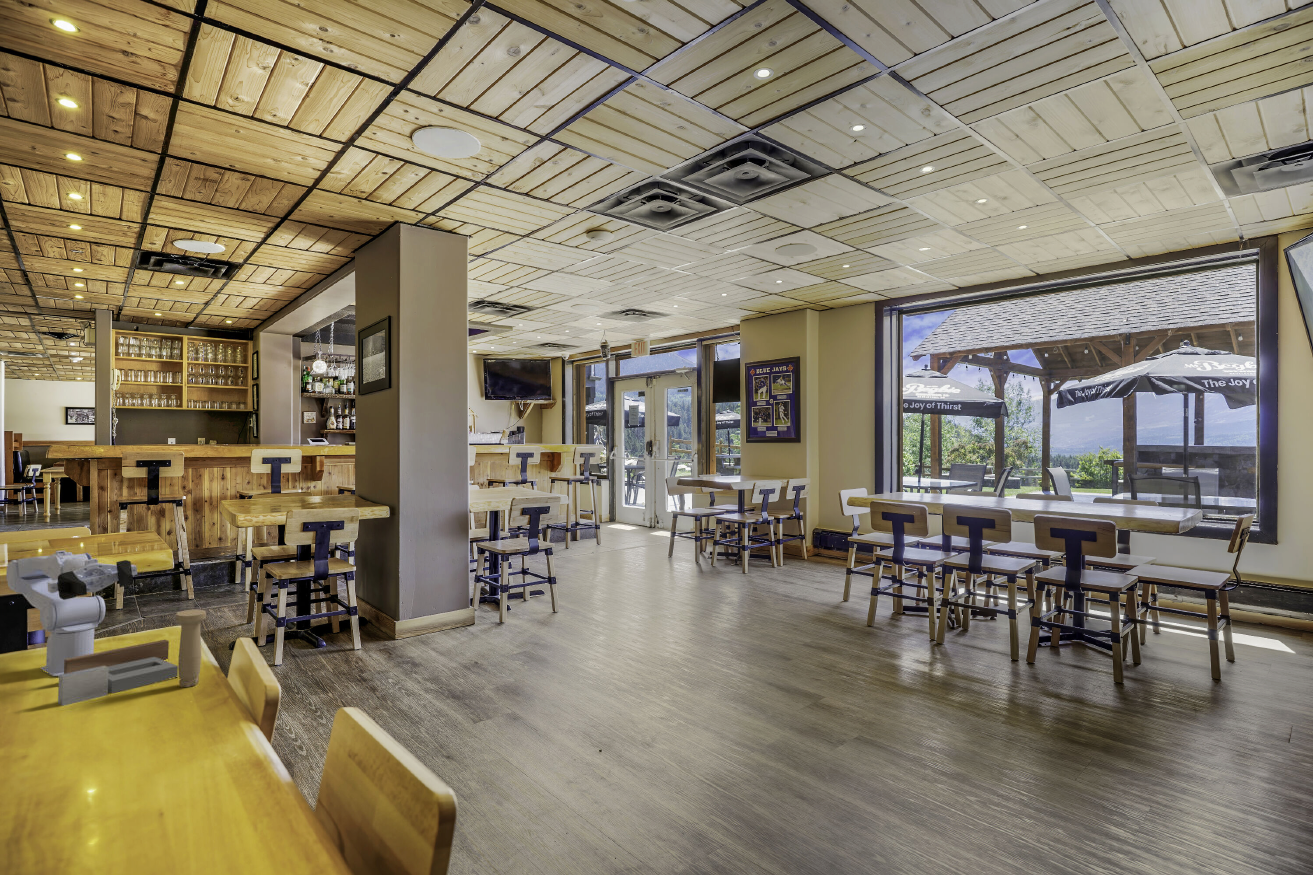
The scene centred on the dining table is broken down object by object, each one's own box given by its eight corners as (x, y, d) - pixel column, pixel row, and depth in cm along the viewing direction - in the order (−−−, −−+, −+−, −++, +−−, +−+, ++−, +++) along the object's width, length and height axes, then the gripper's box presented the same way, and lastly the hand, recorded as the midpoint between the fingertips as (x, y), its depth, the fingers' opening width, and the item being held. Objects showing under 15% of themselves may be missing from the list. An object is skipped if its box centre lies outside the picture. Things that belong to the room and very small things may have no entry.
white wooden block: (57, 703, 126) (59, 674, 126) (103, 693, 132) (104, 665, 132) (61, 706, 125) (63, 677, 125) (107, 695, 131) (108, 667, 131)
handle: (179, 691, 133) (182, 617, 133) (170, 684, 137) (172, 612, 138) (207, 685, 137) (209, 613, 137) (197, 678, 141) (199, 608, 141)
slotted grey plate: (90, 682, 138) (90, 670, 138) (154, 667, 148) (154, 656, 148) (111, 693, 132) (112, 680, 132) (177, 677, 141) (177, 665, 141)
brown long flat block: (63, 683, 137) (64, 658, 137) (164, 661, 152) (165, 639, 153) (66, 684, 136) (67, 660, 136) (168, 662, 151) (168, 640, 151)
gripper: (38, 564, 137) (60, 575, 129) (124, 548, 149) (148, 557, 141) (42, 597, 137) (64, 609, 130) (127, 578, 149) (151, 589, 142)
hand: (108, 584), depth 135 cm, fingers open, 7 cm apart
